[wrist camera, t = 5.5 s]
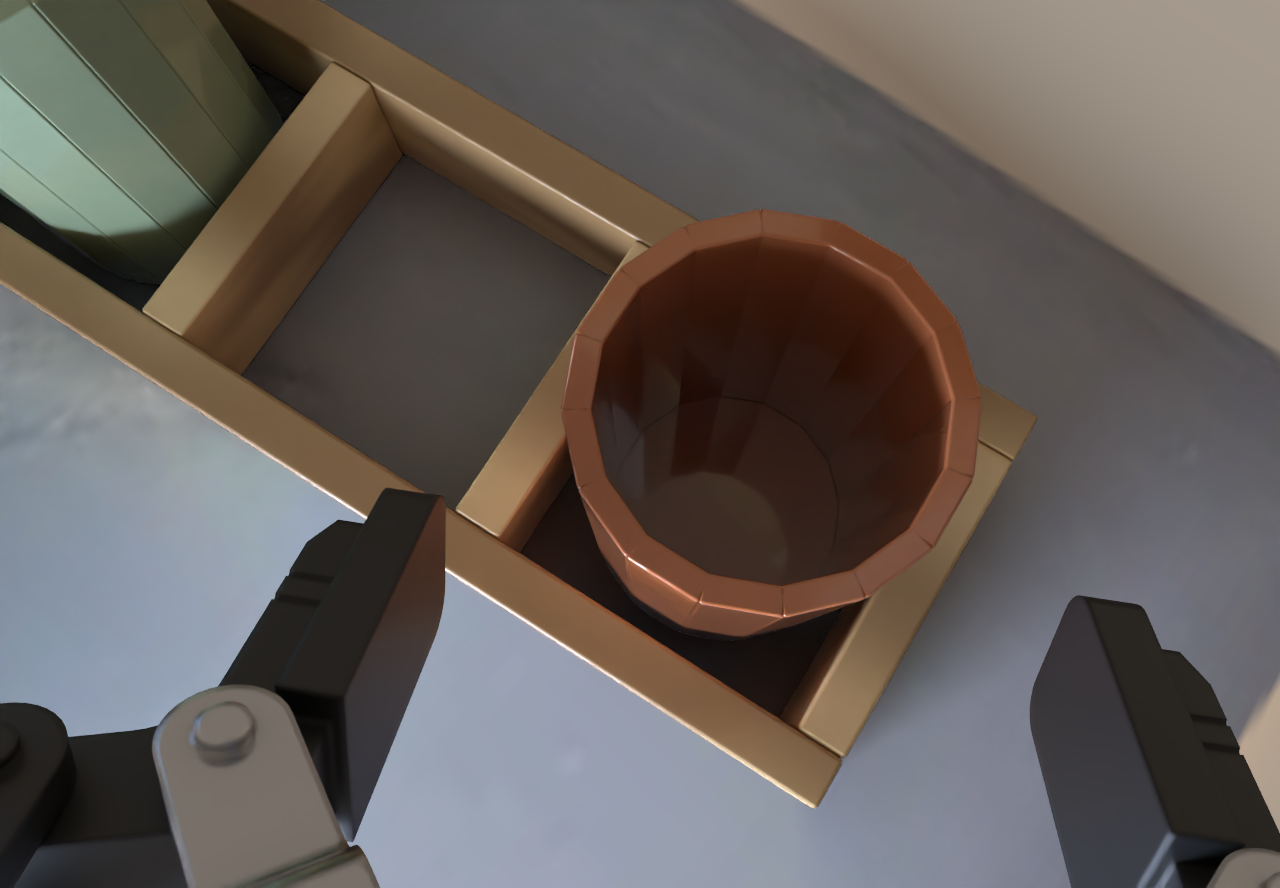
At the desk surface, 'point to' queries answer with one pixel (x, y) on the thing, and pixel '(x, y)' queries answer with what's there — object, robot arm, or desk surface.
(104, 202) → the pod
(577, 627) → the pod rack
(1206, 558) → the desk surface
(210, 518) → the desk surface
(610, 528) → the brown cylindrical cup
